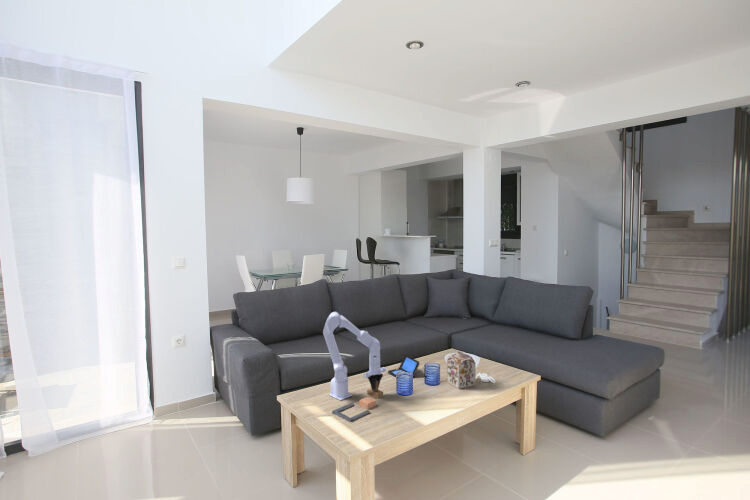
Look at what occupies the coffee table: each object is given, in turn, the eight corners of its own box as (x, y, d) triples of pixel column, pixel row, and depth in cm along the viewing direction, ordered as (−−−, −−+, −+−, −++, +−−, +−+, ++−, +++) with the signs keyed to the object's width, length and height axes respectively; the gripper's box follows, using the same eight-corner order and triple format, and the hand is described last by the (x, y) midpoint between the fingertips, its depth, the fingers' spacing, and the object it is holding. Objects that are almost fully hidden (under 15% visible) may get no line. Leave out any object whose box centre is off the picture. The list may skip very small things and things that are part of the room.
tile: (359, 406, 206) (359, 400, 206) (368, 402, 211) (368, 396, 210) (367, 409, 202) (367, 403, 202) (376, 406, 206) (376, 400, 206)
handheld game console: (387, 373, 251) (387, 358, 250) (405, 369, 257) (405, 354, 257) (401, 381, 237) (400, 365, 237) (420, 377, 244) (420, 361, 243)
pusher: (367, 394, 220) (366, 379, 219) (372, 392, 222) (372, 377, 222) (377, 398, 214) (377, 383, 213) (383, 396, 217) (383, 381, 216)
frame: (332, 412, 199) (332, 410, 198) (351, 404, 207) (351, 402, 207) (350, 421, 189) (350, 419, 189) (369, 412, 198) (369, 410, 198)
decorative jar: (446, 382, 235) (446, 351, 234) (462, 378, 240) (463, 348, 239) (458, 389, 224) (458, 357, 223) (476, 386, 229) (476, 354, 228)
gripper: (370, 368, 209) (370, 394, 210) (389, 361, 219) (390, 386, 220) (360, 364, 214) (361, 390, 215) (380, 358, 224) (380, 382, 225)
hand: (375, 388), depth 218 cm, fingers closed on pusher, 2 cm apart
